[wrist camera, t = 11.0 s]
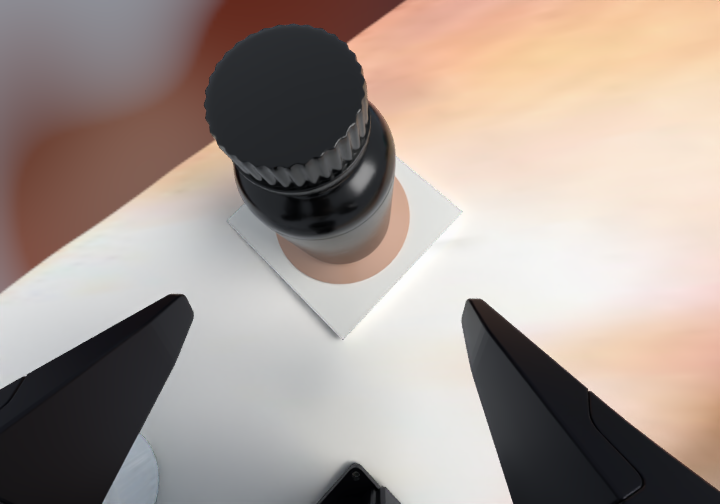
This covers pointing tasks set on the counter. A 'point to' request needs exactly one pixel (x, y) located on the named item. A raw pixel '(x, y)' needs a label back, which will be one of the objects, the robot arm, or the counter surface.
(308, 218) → the supplement bottle
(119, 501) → the ramekin
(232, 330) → the counter surface
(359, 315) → the plate
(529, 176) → the counter surface
